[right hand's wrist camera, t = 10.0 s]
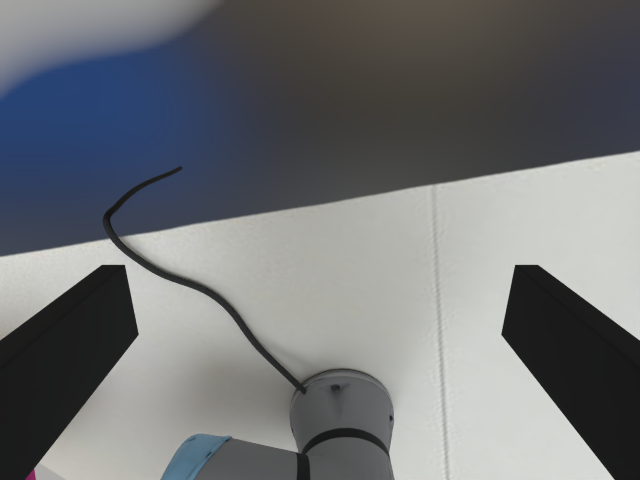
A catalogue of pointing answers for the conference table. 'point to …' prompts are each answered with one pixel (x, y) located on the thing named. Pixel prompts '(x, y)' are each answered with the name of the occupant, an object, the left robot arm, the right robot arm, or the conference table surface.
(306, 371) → the conference table surface
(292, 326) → the conference table surface
